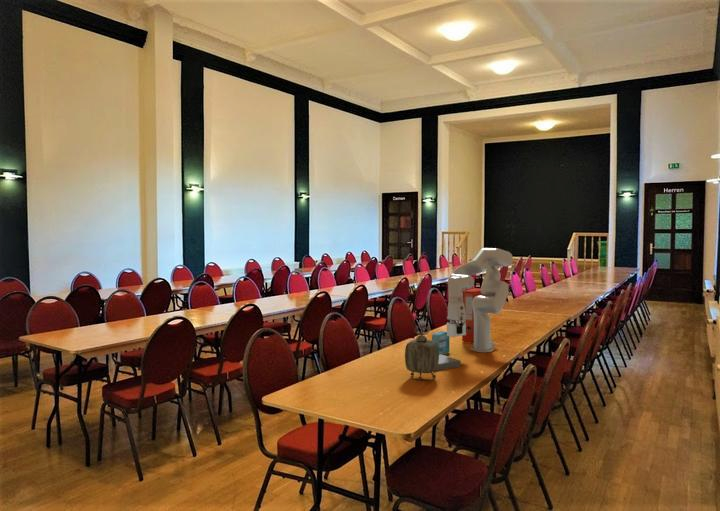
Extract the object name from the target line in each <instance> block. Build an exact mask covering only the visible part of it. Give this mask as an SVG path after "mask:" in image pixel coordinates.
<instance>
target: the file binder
mask: <svg viewBox="0 0 720 511" xmlns="http://www.w3.org/2000/svg"><path fill="white" fill-rule="evenodd" d="M476 296H485V295H483V294H482V293H481V288H476V287H475V288H470V289H464V290H463V303H464V307H465V316H466V319H465V320H466V335H463V336H461V339H462V340H461V342H462V341H464V342H463V343H466V342H471V343H470V344H473V343H474V313H473V307H472V301H473V299H474V297H476Z"/></svg>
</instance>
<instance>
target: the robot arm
mask: <svg viewBox="0 0 720 511" xmlns="http://www.w3.org/2000/svg"><path fill="white" fill-rule="evenodd" d="M513 260H514V259H513V254H512V253H511V252H510V251H508V250H504V249H501V248H497V247H494V248H493V247H483V248H481V249H479V250H478V251H477V252H476V253H475V255H474V256H473V257H472V259H471V260H470V261H468V262H466V263H464V264H462V265H460V266H458V267H456V268H454V270H453V271H452V272H451V274H450V275H449V276H448V279H447V284H448V287H447V288H448V290H447V291H448V303H447V316H446V320H448V323H449V322H452V321H457V324H458V327H457V334H462V333H463V329H462V326H463V325H464V323H465V322H466V320H465V319H466V316H465V307H464V303H463V291H464V290H469V289H473V287H474V286H475V278H474V277H473V275H477V274H480V273H481V272H483V270H484V269H485V270H486V271H485V272H486V273H485V276H484V278H483V281H482V284H481V287H480V289H481V293H482V294H483V295H485V296H476V297H474V299H473V301H472V307H473V313H474V344H473V346H471V348H470V350H471V351H472V350H473V351H472V352H475V351H476V352H477V353H491V352H493V351H494V348H493V346H494V347H495V346H497V345H498V343H497V341H496V342H492V341H491V340H492V339H491V338H492V335H491V334H492V329H491V328H492V327H491V326H492V321H491V320H492V319H491V316H490V315H489V314H494V315H498V314H500V313H501V312H502V310H503V308H504V305H505V304H506V300H507V298H508V295H509V285H508V283H507V282H506V281H503V280H501V276H502V274H501V272H500V270H499V268H498V267H509V266H511V265H512V263H513ZM459 322H460V323H459Z"/></svg>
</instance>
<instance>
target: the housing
mask: <svg viewBox="0 0 720 511" xmlns="http://www.w3.org/2000/svg"><path fill="white" fill-rule="evenodd" d="M459 323H460V322H459ZM457 327H458V324H457V321H452V322H449V321H448V322H446V332H447V336H449V338H457V337H462V336H463V335H466V322H465V323H464V325H463V326H462V329H463V333H462V334H457Z"/></svg>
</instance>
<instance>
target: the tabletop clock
mask: <svg viewBox="0 0 720 511" xmlns="http://www.w3.org/2000/svg"><path fill="white" fill-rule="evenodd" d="M418 328H424V329H426V330H427V332H425V333H423V331H420V332H417V331H416V329H418ZM413 330H414V333H415V334H417V335H418V336H416V338H415V339H412V340H409V341H408V343H406V345H405V349H404V363H405V368H406V370H408V371H409V372H410V376H412V377H413V376H414V375H415V373H418V374H419V376H418V380H420V381H422V380H423V377H422V374H431V377H432V378H433V379H435V378H436V374H434V373H433V372H434V371H435V369H436V368H437V366H438V362H439V349H438V345H437V342H435V341H432V339H427V338H428V337H427V336H425V335H427V334H429V332H430V331H429V328H428V327H426V326H424V325H417V326H416V327H414V329H413Z"/></svg>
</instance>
